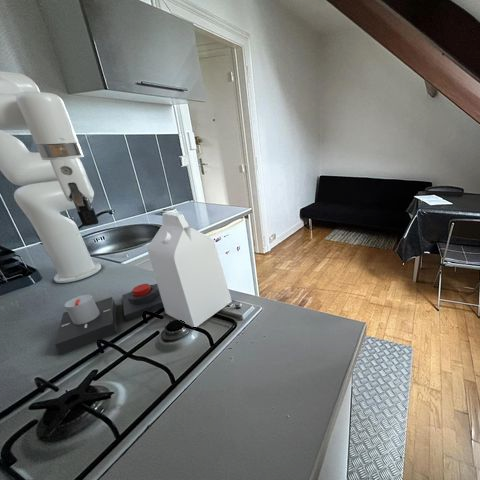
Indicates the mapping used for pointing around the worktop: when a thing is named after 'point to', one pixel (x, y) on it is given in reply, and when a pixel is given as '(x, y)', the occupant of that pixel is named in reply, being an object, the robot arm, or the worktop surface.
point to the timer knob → (82, 309)
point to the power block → (141, 303)
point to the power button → (141, 290)
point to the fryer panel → (87, 328)
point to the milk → (187, 271)
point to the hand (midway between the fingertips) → (91, 224)
